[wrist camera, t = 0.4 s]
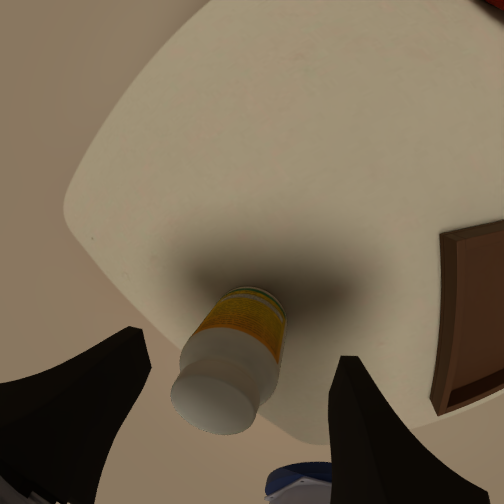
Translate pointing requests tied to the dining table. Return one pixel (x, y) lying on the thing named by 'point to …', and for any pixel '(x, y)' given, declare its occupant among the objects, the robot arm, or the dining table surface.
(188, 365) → the supplement bottle
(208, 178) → the dining table surface
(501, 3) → the apple
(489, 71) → the dining table surface
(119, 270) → the dining table surface
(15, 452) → the robot arm
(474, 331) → the tray
